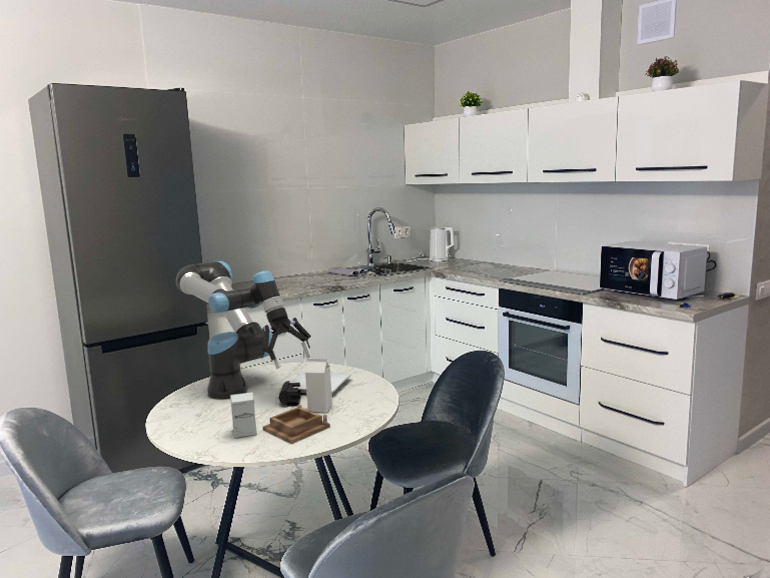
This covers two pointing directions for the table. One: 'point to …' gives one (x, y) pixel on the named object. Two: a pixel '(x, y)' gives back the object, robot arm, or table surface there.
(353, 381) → the table surface
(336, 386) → the salad plate
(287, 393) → the end cap
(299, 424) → the jig
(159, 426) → the table surface
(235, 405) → the supplement box
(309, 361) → the milk carton
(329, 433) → the table surface
